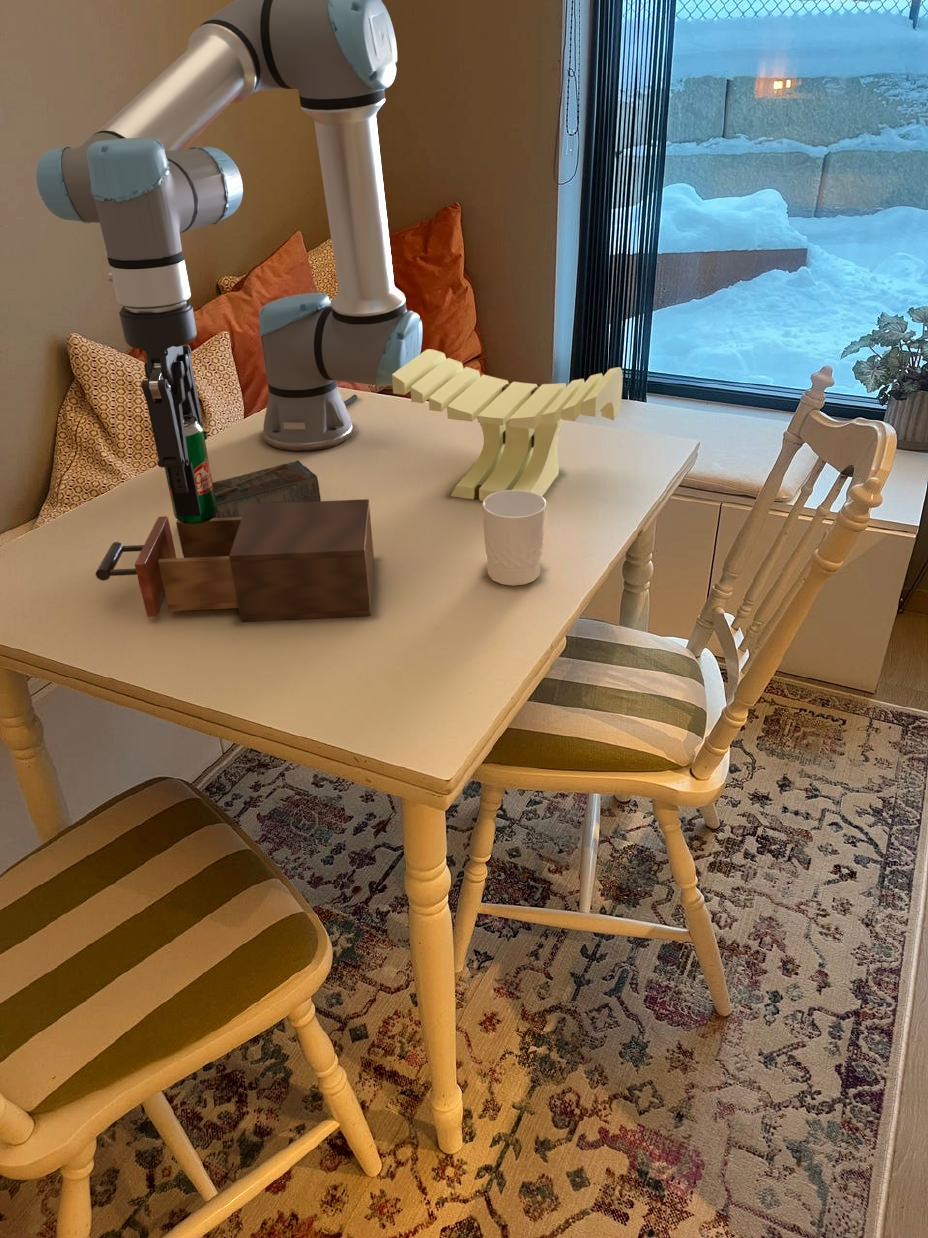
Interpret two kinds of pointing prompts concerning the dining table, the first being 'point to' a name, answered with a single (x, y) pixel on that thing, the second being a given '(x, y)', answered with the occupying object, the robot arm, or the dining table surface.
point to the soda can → (197, 472)
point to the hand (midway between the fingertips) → (194, 503)
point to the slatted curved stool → (507, 418)
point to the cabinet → (303, 560)
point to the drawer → (181, 566)
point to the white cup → (514, 535)
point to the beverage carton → (266, 488)
